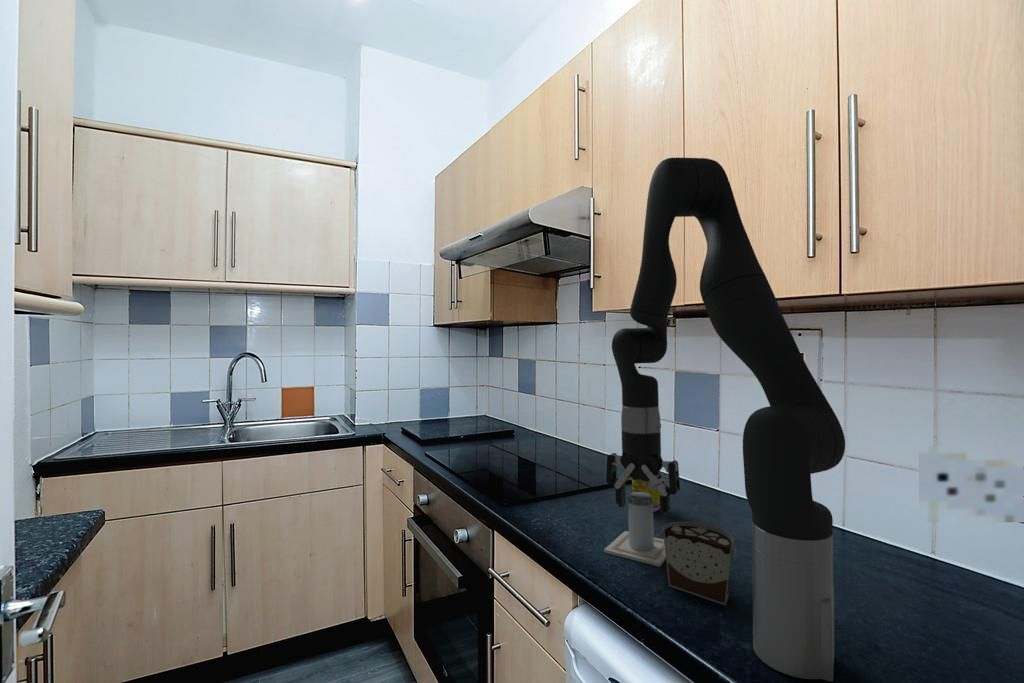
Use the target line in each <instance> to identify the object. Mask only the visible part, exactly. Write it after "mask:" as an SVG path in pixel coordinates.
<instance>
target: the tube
mask: <svg viewBox="0 0 1024 683" xmlns="http://www.w3.org/2000/svg"><path fill="white" fill-rule="evenodd" d="M627 514H628V515H627V517H628V521H627V522H628V532H629V546H630V547H631V548H632V549H634V550H638V551H649V550H652V549H653V548H654V537H655V536H654V512H653V496H652V495H651V494H649V493H644V492H632V491H631V492H630V493H628V494H627Z"/></svg>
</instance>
